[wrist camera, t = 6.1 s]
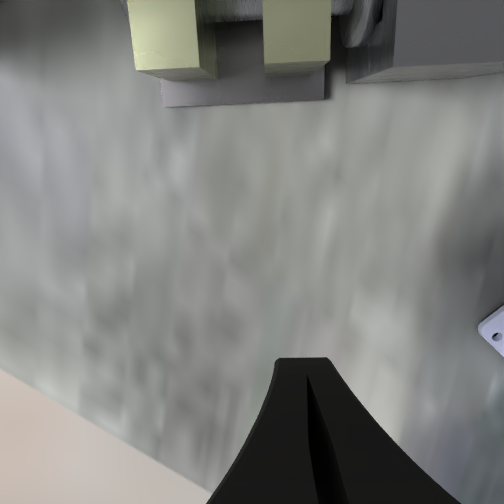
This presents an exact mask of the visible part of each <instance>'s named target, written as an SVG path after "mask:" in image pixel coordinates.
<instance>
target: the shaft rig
mask: <svg viewBox="0 0 504 504" xmlns="http://www.w3.org/2000/svg"><path fill="white" fill-rule="evenodd" d="M120 2H121V5H122V8H123V10H124V13H125V15H126V17H127V19H128V21H129V22H130V28H131V36H132V44H133V52H134V59H135V67H136V70H137V71H140V72H143V73H146V74H149V75H152V76H155V77H159V78H160V85H161V94H162V103H163V107H182V106H203V105H225V104H246V103H267V102H289V101H310V100H324V72H325V64H326V63H327V62H329V61H330V38H331V16H334V15H338V17H339V29H340V36H341V40H342V43H343V46H344V47H346V48H349V47H364V46H366V45H367V44H368V43H369V41H370V39H371V37H372V35H373V33H374V30H375V27H376V24H377V21H378V17H379V13H383V0H120Z"/></svg>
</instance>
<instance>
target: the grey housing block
mask: <svg viewBox="0 0 504 504" xmlns="http://www.w3.org/2000/svg"><path fill="white" fill-rule="evenodd" d="M503 71H504V0H383V13H379V17H378V21H377V24H376V27H375V30H374V33H373V35H372V37H371V39H370V41H369V43H368V44H367V45H366V46H364V47H349V48H347V65H346V84H356V83H376V82H397V81H417V80H438V79H458V78H468V77H474V76H480V75H485V74H491V73H497V72H503Z"/></svg>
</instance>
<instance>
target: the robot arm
mask: <svg viewBox="0 0 504 504" xmlns="http://www.w3.org/2000/svg"><path fill="white" fill-rule="evenodd" d="M478 332H479V333H480V334H481V335H482V336H483V337H484V338H485V339H486V340H487V341H488V342H489V343H490V344H491V345H492V346H493V347H494V348H495V349H496V350H497V351H498V352H499V353H500V354H501V355H502V356H503V357H504V305H503V306H502V307H501V308H499V309H498V310H497V311H495V312H494V313H493V314H491V315H490V316H489V317H488V318H486V319H485V320H484V321H482V322H481V323H480V324H479V326H478ZM495 333H498V334H497V336H495V337H492V336H493V334H495ZM206 504H461V503H460V502H459V501H457V500H456V499H455V498H454V497H452V496H451V495H450V494H449V493H448V492H447V491H445V490H444V489H443V488H442V487H441V486H440V485H439V484H437V483H436V482H435V481H434V480H433V479H432V478H431V477H430V476H429V475H428V474H427V473H425V472H424V471H423V470H422V469H421V468H420V467H419V466H418V465H417V464H416V463H415V462H414V461H413V460H412V459H411V458H410V457H409V456H408V455H407V454H406V453H405V452H404V451H403V450H402V449H401V448H400V447H399V446H398V445H397V444H396V443H395V442H394V441H393V439H392V438H391V437H390V436H389V435H388V434H387V433H386V432H385V431H384V430H383V429H382V427H381V426H380V425H379V424H378V423H377V422H376V421H375V419H374V418H373V417H372V416H371V415H370V413H369V412H368V411H367V410H366V409H365V407H364V406H363V405H362V404H361V402H360V401H359V400H358V399H357V397H356V396H355V395H354V394H353V392H352V391H351V390H350V388H349V387H348V385H347V384H346V383H345V381H344V380H343V379H342V377H341V376H340V374H339V373H338V371H337V370H336V368H335V367H334V365H333V364H332V362H331V361H330V360H329V359H328V358H327V357H323V358H279V359H277V360H276V361H275V366H274V372H273V376H272V380H271V383H270V386H269V390H268V393H267V395H266V398H265V400H264V403H263V405H262V408H261V410H260V412H259V415H258V417H257V419H256V421H255V423H254V425H253V427H252V429H251V431H250V433H249V435H248V437H247V439H246V441H245V443H244V445H243V447H242V449H241V450H240V452H239V454H238V456H237V457H236V459H235V461H234V462H233V464H232V466H231V467H230V469H229V470H228V472H227V474H226V475H225V477H224V478H223V480H222V481H221V483H220V484H219V486H218V487H217V489H216V490H215V491H214V493H213V494H212V496H211V497H210V499H209V500H208V502H207V503H206Z"/></svg>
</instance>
